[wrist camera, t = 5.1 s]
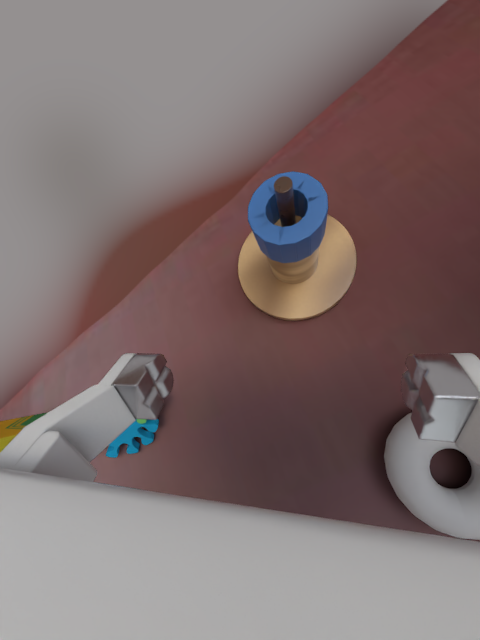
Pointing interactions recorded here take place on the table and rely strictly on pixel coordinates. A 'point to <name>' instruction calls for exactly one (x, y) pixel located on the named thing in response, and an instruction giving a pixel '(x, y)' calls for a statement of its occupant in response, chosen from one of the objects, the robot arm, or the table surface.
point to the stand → (298, 268)
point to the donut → (431, 484)
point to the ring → (298, 237)
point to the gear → (132, 432)
